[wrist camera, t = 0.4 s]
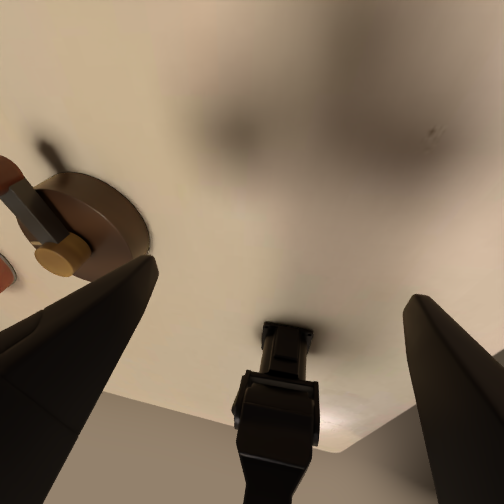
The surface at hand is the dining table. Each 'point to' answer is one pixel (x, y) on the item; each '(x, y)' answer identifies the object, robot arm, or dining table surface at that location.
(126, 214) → the crank base
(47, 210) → the crank handle
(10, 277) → the canned food
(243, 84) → the dining table surface
